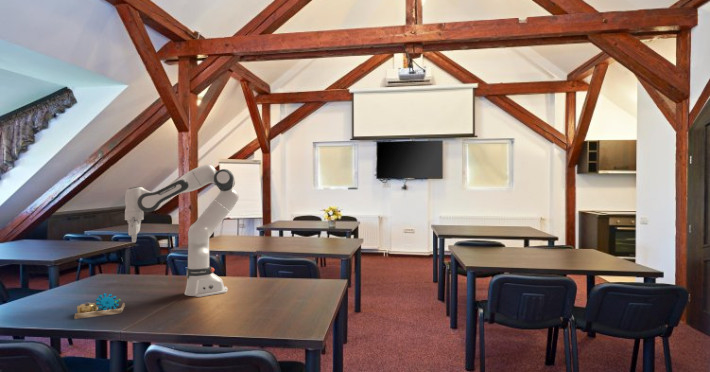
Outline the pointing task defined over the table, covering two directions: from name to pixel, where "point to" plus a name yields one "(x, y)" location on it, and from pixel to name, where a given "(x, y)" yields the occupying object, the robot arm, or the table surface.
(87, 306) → the gear
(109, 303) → the gear
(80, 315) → the gear bench
